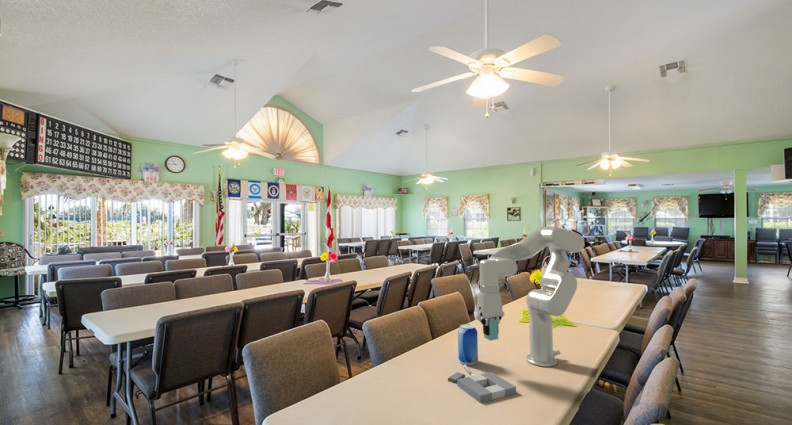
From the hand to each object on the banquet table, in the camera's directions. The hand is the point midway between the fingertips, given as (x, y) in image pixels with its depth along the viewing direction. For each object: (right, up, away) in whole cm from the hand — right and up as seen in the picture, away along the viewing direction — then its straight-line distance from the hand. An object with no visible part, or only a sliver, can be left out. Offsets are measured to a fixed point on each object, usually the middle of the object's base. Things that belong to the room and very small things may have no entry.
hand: (491, 333), depth 146 cm
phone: (-15, -16, -6) cm, 23 cm away
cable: (-9, -16, 0) cm, 19 cm away
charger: (0, -2, 0) cm, 2 cm away
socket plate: (-6, -16, -15) cm, 23 cm away
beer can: (-7, -17, +10) cm, 21 cm away
